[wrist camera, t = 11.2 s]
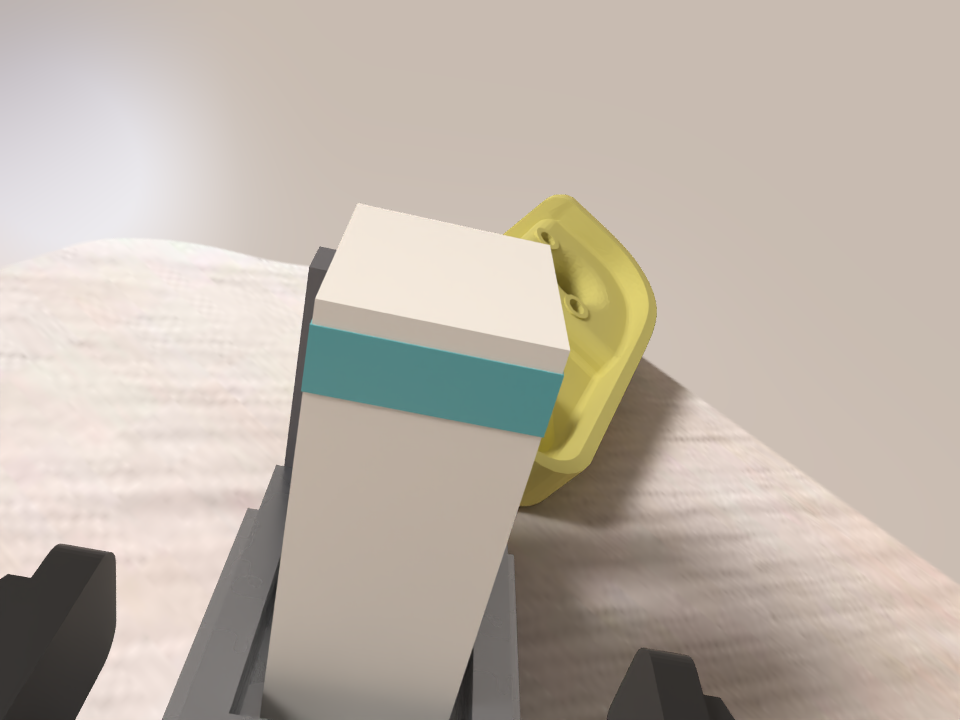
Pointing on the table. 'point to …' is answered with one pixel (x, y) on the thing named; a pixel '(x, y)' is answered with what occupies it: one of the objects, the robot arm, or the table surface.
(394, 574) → the block
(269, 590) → the rail plate
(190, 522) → the table surface
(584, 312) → the plastic component
